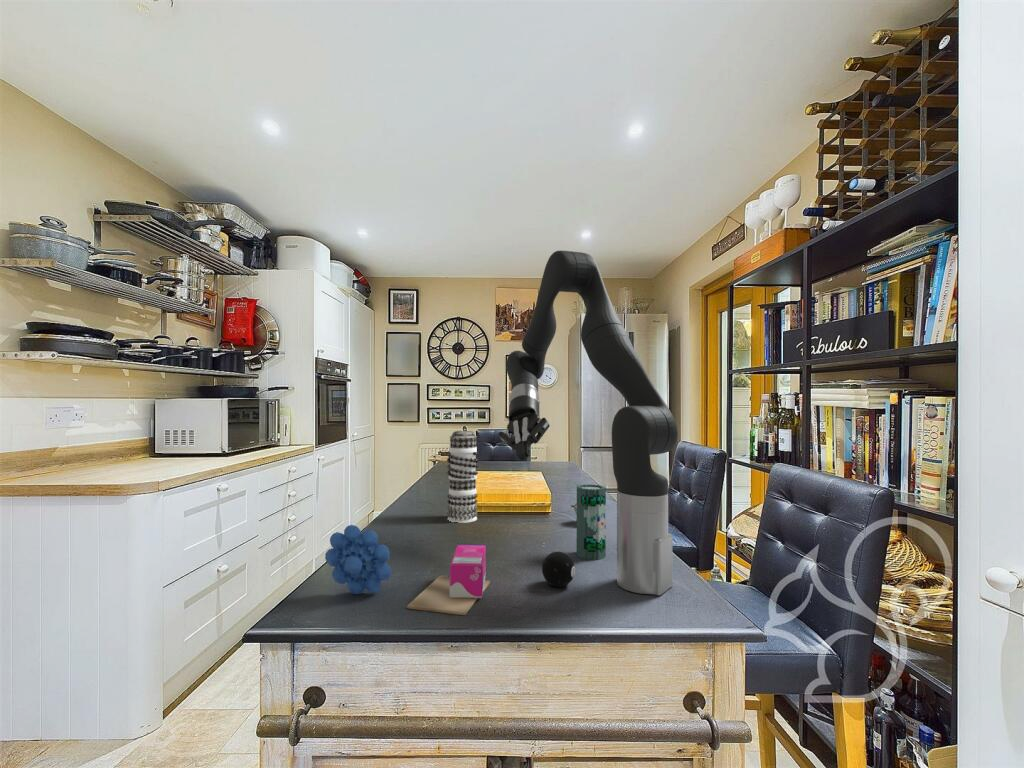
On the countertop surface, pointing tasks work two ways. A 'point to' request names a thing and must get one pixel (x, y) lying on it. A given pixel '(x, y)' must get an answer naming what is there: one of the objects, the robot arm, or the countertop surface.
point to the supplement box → (468, 571)
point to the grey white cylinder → (462, 477)
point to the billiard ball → (558, 569)
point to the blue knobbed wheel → (358, 560)
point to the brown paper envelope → (442, 598)
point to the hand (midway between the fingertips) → (523, 457)
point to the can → (591, 522)
